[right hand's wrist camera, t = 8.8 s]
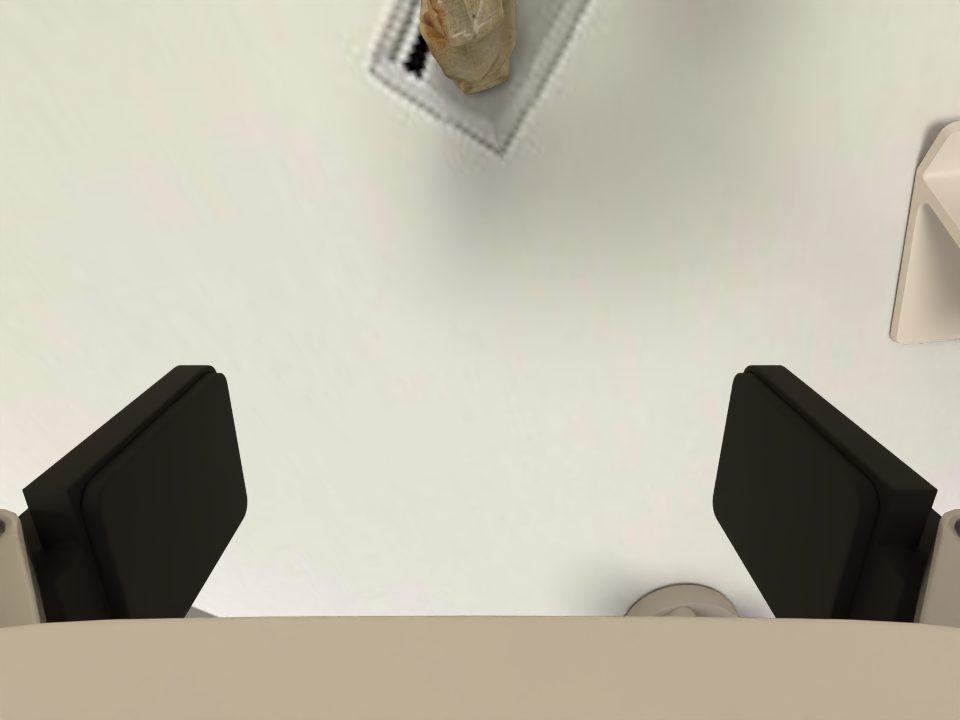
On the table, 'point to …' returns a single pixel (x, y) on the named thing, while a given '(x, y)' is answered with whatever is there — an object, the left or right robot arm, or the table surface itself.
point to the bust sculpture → (684, 603)
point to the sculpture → (471, 39)
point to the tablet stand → (932, 249)
